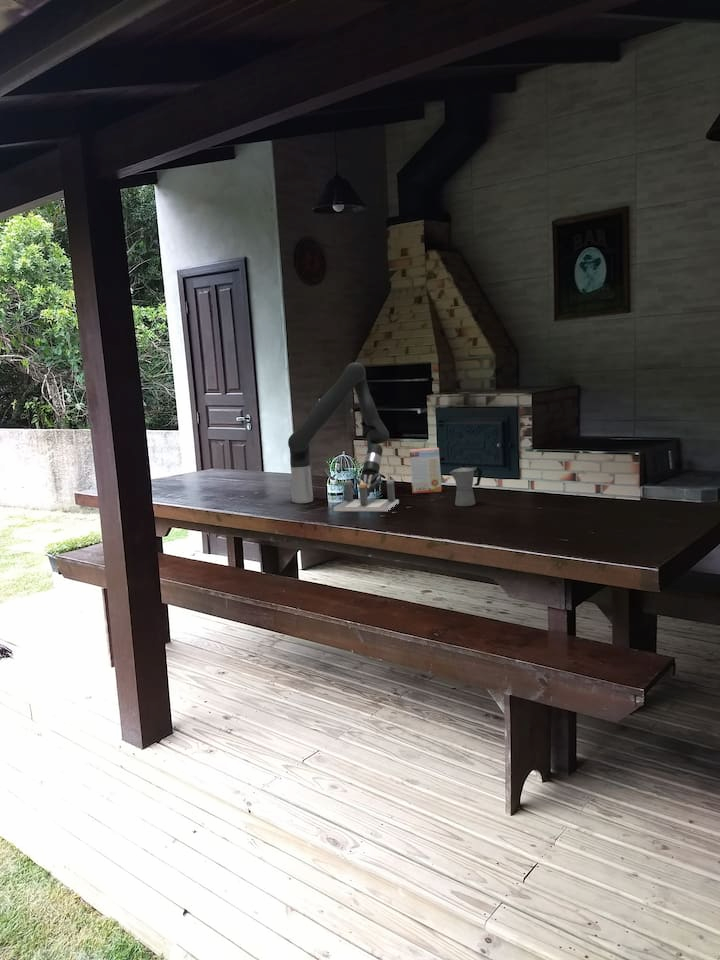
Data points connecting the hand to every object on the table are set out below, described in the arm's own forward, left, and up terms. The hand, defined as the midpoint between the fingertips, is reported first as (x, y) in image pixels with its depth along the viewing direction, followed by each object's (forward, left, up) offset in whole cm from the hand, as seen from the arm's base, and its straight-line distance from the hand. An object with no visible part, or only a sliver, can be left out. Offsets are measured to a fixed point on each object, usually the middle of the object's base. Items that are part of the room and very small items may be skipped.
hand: (365, 496), depth 331 cm
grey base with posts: (0, +1, -5) cm, 5 cm away
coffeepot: (+44, +8, -5) cm, 45 cm away
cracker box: (+19, +35, -5) cm, 40 cm away
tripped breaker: (0, -2, -3) cm, 4 cm away
